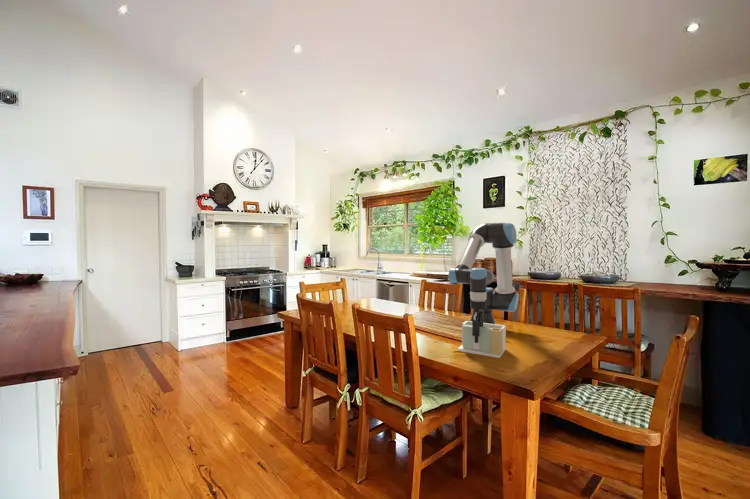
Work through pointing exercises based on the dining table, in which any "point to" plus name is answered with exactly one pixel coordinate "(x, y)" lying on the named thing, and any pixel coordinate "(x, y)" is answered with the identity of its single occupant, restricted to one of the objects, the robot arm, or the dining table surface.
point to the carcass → (484, 351)
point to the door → (484, 339)
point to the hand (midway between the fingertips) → (477, 347)
